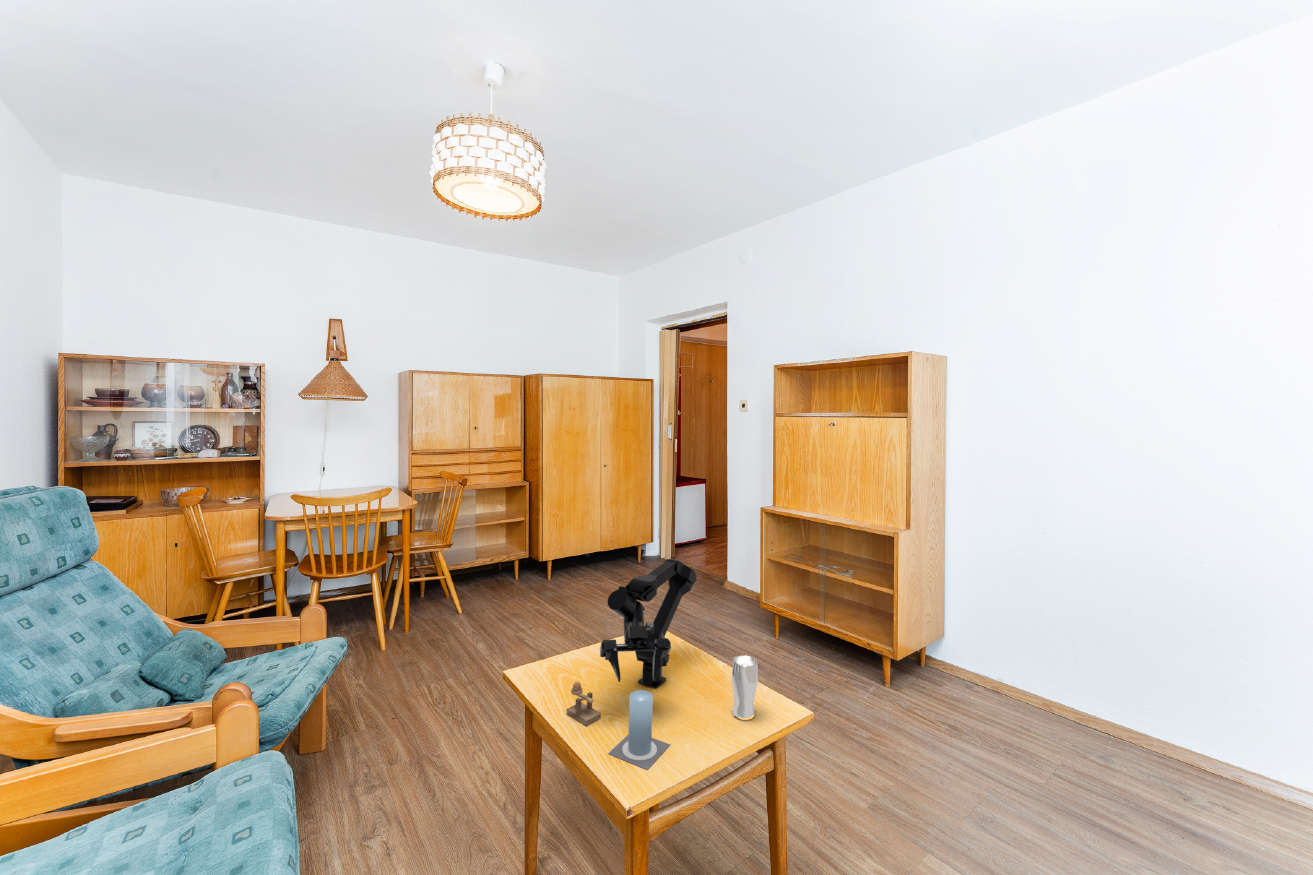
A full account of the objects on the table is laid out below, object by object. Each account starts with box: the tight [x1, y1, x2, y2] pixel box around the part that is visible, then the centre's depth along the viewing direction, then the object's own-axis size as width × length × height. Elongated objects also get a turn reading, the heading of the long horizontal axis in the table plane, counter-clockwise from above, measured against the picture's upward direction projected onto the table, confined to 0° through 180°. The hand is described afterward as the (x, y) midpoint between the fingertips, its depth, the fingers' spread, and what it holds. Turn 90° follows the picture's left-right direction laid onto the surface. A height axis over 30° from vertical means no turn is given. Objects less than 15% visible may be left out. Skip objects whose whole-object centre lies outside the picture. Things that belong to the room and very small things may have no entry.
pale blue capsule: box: [627, 689, 654, 756], centre depth 129 cm, size 6×6×13 cm
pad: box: [607, 734, 671, 771], centre depth 129 cm, size 11×11×1 cm
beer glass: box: [731, 655, 759, 718], centre depth 145 cm, size 7×7×15 cm
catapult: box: [566, 681, 602, 727], centre depth 143 cm, size 8×5×8 cm, turn 49°
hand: (637, 680), depth 139 cm, fingers open, 9 cm apart
